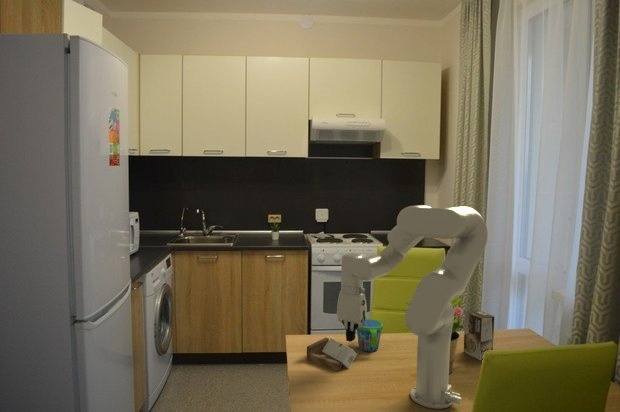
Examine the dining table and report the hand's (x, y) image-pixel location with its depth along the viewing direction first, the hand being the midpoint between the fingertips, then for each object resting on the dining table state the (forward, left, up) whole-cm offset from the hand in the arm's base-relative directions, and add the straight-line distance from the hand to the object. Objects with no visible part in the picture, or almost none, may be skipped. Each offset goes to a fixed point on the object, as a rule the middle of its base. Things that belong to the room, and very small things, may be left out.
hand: (350, 340), depth 151 cm
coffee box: (-32, -40, -10) cm, 52 cm away
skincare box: (-1, +1, -6) cm, 6 cm away
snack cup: (+3, -18, -10) cm, 21 cm away
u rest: (+7, 0, -10) cm, 12 cm away
